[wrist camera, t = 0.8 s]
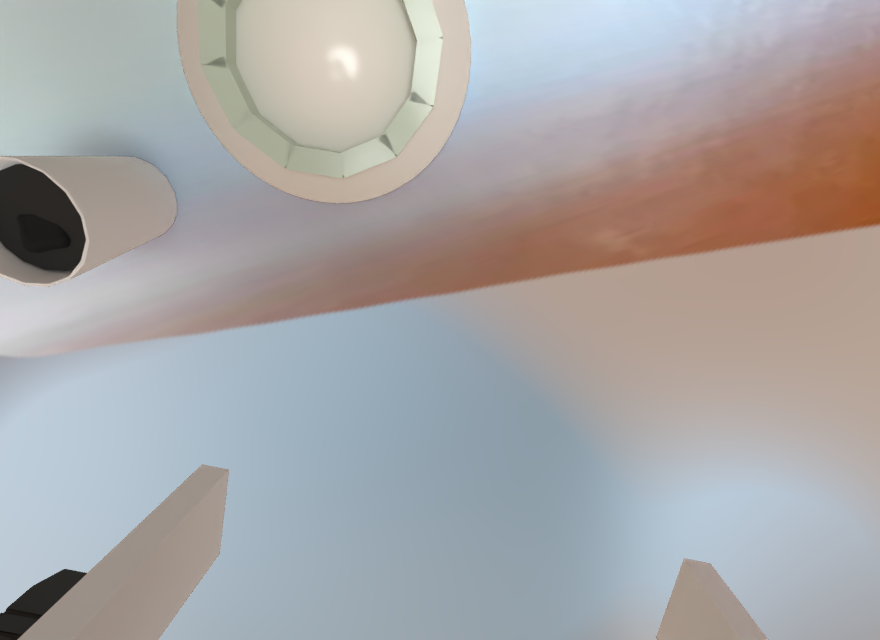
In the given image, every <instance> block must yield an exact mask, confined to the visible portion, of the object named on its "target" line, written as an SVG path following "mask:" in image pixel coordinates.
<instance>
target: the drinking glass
mask: <svg viewBox="0 0 880 640" xmlns="http://www.w3.org/2000/svg"><path fill="white" fill-rule="evenodd" d="M177 210H178V208H177V202H176V195H175V192H174V190H173V188H172V186H171V185H170V183H169V181H168V179H167V177H166V176H164V175H163V174H162V173H161V172H160V171H159V170H158V169H157V168H156V167H155V166H154V165H152V164H150V163H148V162H146V161H144V160H141V159H139V158H137V157H126V156H0V276H1V277H4V278H6V279H9V280H11V281H14V282H17V283H19V284H22V285H25V286H45V287H50V286H53V285H56V284H59V283H61V282H64V281H67V280H70V279H72V278H74V277H76V276H78V275H80V274H82V273H84V272H86V271H88V270H90V269H93V268H95V267H97V266H99V265H101V264H103V263H105V262H107V261H109V260H111V259H113V258H115V257H117V256H119V255H121V254H123V253H125V252H128V251H130V250H132V249H134V248H136V247H138V246H140V245H142V244H144V243H146V242H148V241H150V240H152V239H154V238H156V237H158V236H161V235H163V234H165V232H166V231H167V230H168V229H169V228H170V227H171V226H172V225H173V224H174V221H175V217H176V213H177Z"/></svg>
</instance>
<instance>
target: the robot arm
mask: <svg viewBox="0 0 880 640" xmlns="http://www.w3.org/2000/svg"><path fill="white" fill-rule="evenodd" d="M228 474H229V470H228V469H223V468H218V467H212V466H207V465H201V466H200V467H199V468H198V469H197V470H196V471H195V472H194V473H193V474H192V475H191V476H189V477H188V478H187V479H186V480H185V481H184V482H183V483H182V484H181V485H180V486H179V487H178V488H177V489H176V490H175V491H174V492H173V493H172V494H170V495H169V496H168V497H167V498H166V499H165V500H164V501H163V502H162V503H161V504H160V505H159V506H158V507H157V508H156V509H155V510H154V511H153V512H152V513H151V514H149V515H148V516H147V517H146V518H145V519H144V520H143V521H142V522H141V523H140V524H139V525H138V526H137V527H136V528H135V529H134V530H133V531H132V532H131V533H129V534H128V535H127V536H126V537H125V538H124V539H123V540H122V541H121V542H120V543H119V544H118V545H117V546H116V547H115V548H114V549H112V551H110V552H109V553H108V554H107V555H106V556H105V557H104V558H103V559H102V560H101V561H100V562H99V563H98V564H97V565H96V566H95V567H94V568H92V569H91V570H90V571H89V572H88V573H83V572H78V571H73V570H68V569H64V570H62V571H60V572H58V573H56V574H54V575H52V576H51V577H49V578H47V579H45V580H43V581H41V582H39V583H37V584H36V585H34V586H33V587H31V588H30V589H29V590H28V591H26V592H25V593H24V594H23V595H22V596H21V597H19V598H18V599H17V600H16V601H15V602H14V603H12V604H11V605H10V606H9V607H8V608H7V609H6V611H5V612H4V613H1V614H0V640H158V639H159V638H160V636H161V635H162V634H163V632H164V631H165V629H166V628H167V627H168V625H169V624H170V622H171V621H172V620H173V618H174V617H175V615H176V614H177V613H178V611H179V610H180V608H181V607H182V606H183V604H184V603H185V601H186V600H187V599H188V597H189V596H190V594H191V593H192V592H193V590H194V589H195V587H196V586H197V585H198V583H199V582H200V580H201V579H202V578H203V576H204V575H205V573H206V572H207V571H208V569H209V568H210V566H211V565H212V563H213V562H214V561H215V559H216V558H217V557H218V555H219V553H220V547H221V537H222V528H223V519H224V510H225V500H226V492H227V482H228ZM656 639H657V640H768V639H767V637H766V636H765V635H764V633H763V632H762V631H761V629H760V628H759V627H758V625H757V624H756V623H755V621H754V620H753V619H752V618H751V616H750V615H749V614H748V612H747V611H746V610H745V608H744V607H743V606H742V604H741V603H740V602H739V600H738V599H737V598H736V596H735V595H734V594H733V593H732V591H731V590H730V589H729V587H728V586H727V585H726V583H725V582H724V581H723V579H722V578H721V577H720V575H719V574H718V573H717V572H716V570H715V569H714V568H713V566H712V565H711V564H710V563H705V562H700V561H695V560H690V559H685V558H684V560H683V563H682V566H681V569H680V572H679V575H678V577H677V580H676V583H675V586H674V588H673V591H672V594H671V597H670V600H669V603H668V605H667V608H666V611H665V614H664V617H663V619H662V622H661V625H660V628H659V631H658V634H657V636H656Z"/></svg>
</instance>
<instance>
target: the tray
mask: <svg viewBox="0 0 880 640" xmlns="http://www.w3.org/2000/svg"><path fill="white" fill-rule="evenodd" d="M177 35H178V44H179V52H180V56H181V61H182V65H183V70H184V73H185V76H186V79H187V82H188V85H189V88H190V91H191V94H192V96H193V98H194V100H195V102H196V104H197V106H198V109H199V111H200V113H201V114H202V116H203V118H204V119H205V121H206V123H207V124H208V126H209V128H210V129H211V131H212V132H213V133H214V135H215V136H216V137H217V139H218V140H219V141H220V142H221V144H222V145H223V146H224V147H225V148H226V150H227V151H228V152H229V153H230V154H231V155H232V156H233V157H234V158H235V159H236V160H237V161H238V162H239V163H240V164H242V165H243V166H244V167H245V168H246V169H248V170H249V171H250V172H251V173H252V174H254V175H256V176H257V177H259V178H260V179H262V180H263V181H265V182H266V183H268V184H270V185H272V186H274V187H276V188H278V189H279V190H281V191H283V192H286V193H289V194H292V195H294V196H297V197H300V198H304V199H308V200H313V201H317V202H327V203H353V202H358V201H364V200H369V199H372V198H375V197H378V196H381V195H384V194H387V193H389V192H391V191H393V190H395V189H397V188H399V187H401V186H402V185H404V184H405V183H407V182H408V181H410V180H411V179H413V178H414V177H415V176H416V175H418V174H419V173H420V172H421V171H422V170H423V169H424V168H426V167H427V166H428V165H429V163H430V162H431V161H432V160H433V159H434V158H435V156H436V155H437V154H438V153H439V152H440V150H441V149H442V147H443V146H444V144H445V143H446V141H447V140H448V138H449V137H450V134H451V132H452V130H453V128H454V126H455V124H456V122H457V120H458V118H459V115H460V112H461V109H462V106H463V104H464V100H465V96H466V91H467V87H468V82H469V74H470V64H471V38H470V30H469V22H468V16H467V11H466V7H465V3H464V0H178V2H177Z"/></svg>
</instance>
